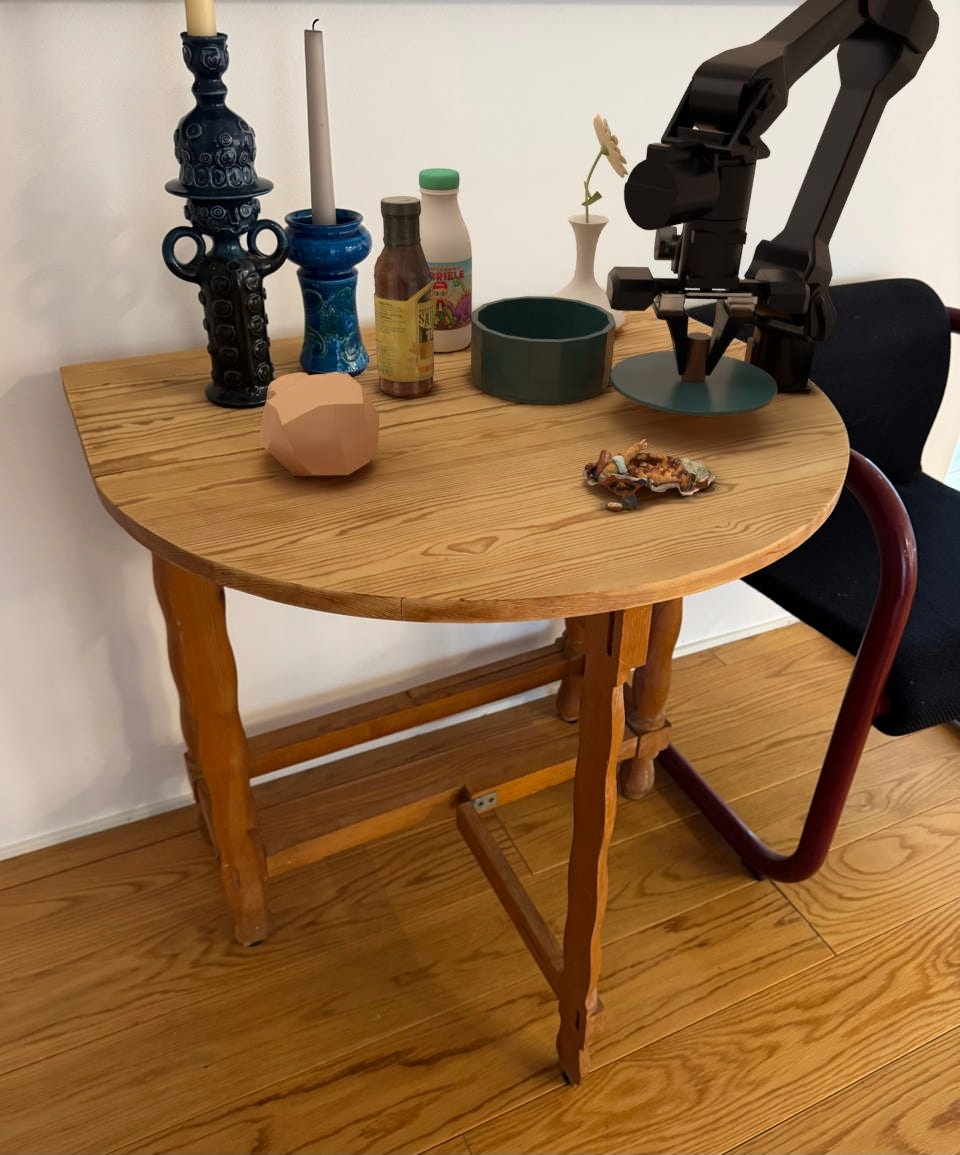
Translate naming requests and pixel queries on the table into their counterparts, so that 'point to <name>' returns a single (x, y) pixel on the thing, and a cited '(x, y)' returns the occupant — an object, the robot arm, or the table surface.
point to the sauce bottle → (403, 302)
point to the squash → (319, 424)
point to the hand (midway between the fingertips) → (693, 374)
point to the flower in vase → (593, 231)
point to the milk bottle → (446, 258)
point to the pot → (541, 349)
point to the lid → (693, 382)
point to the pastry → (645, 474)
